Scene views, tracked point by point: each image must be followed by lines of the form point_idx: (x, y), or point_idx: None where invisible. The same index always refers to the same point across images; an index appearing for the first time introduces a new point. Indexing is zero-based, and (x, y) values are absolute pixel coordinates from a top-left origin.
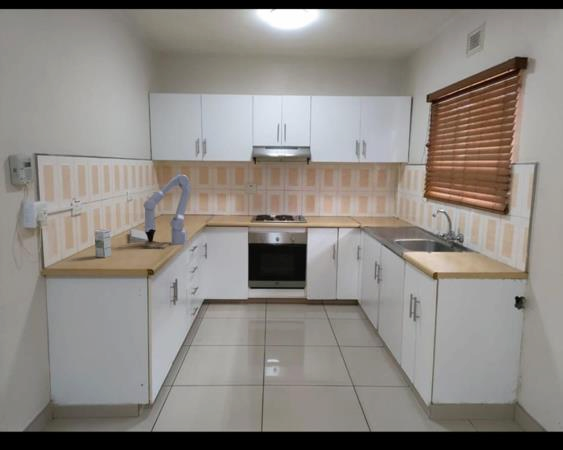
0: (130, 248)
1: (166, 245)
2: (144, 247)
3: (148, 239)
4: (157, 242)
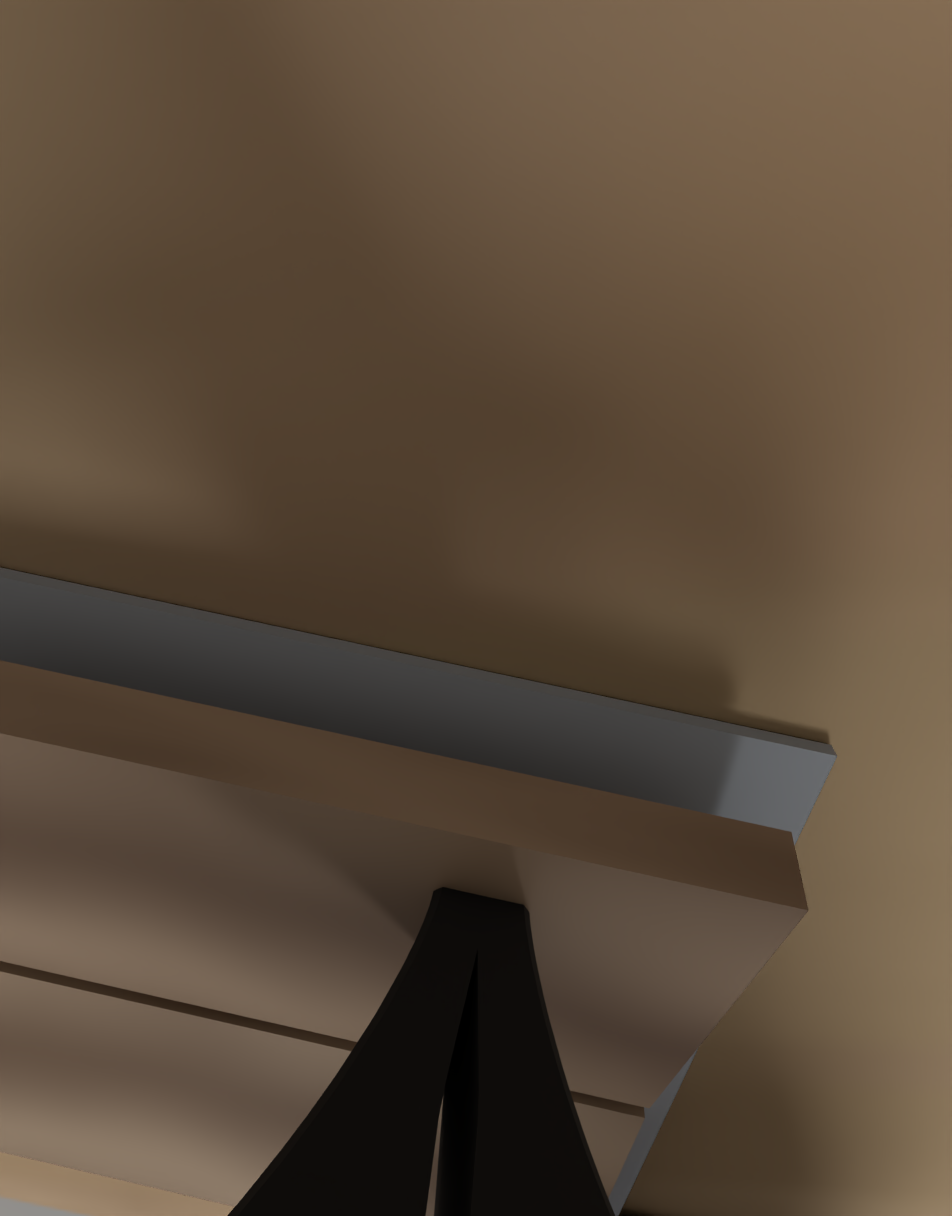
0: (13, 96)
1: (161, 1186)
2: (136, 663)
3: (405, 969)
4: (578, 1066)
